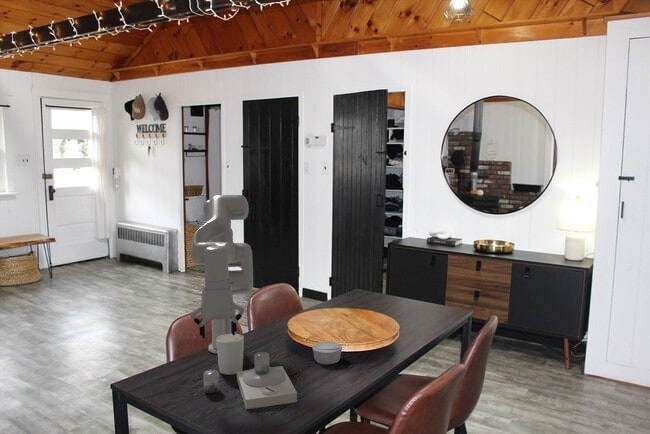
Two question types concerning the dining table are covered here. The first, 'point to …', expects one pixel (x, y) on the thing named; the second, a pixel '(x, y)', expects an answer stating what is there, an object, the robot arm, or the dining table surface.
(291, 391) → the scale
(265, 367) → the disc
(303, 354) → the dining table surface
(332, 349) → the ramekin
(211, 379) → the cylinder
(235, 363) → the candle holder
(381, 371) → the dining table surface
